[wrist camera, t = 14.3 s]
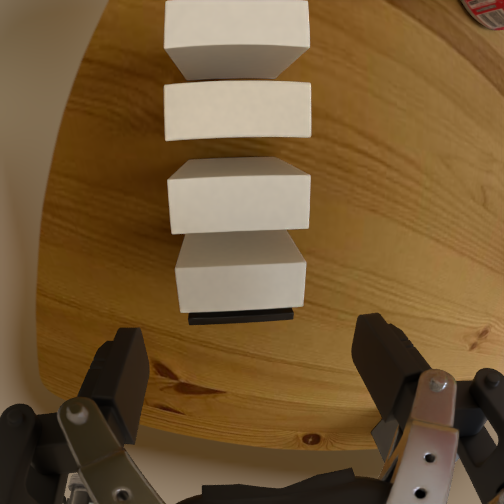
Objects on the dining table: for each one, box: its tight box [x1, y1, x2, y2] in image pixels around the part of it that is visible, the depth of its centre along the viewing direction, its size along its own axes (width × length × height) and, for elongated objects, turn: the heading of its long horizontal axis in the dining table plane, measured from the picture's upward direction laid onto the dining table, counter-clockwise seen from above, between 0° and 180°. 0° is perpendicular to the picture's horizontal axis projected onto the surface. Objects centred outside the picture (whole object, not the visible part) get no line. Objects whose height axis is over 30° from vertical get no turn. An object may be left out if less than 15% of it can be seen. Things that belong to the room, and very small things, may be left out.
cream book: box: [175, 229, 306, 313], centre depth 19 cm, size 2×6×9 cm, turn 90°
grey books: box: [371, 419, 459, 463], centre depth 31 cm, size 10×6×9 cm, turn 71°
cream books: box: [164, 0, 311, 325], centre depth 17 cm, size 16×6×9 cm, turn 1°
